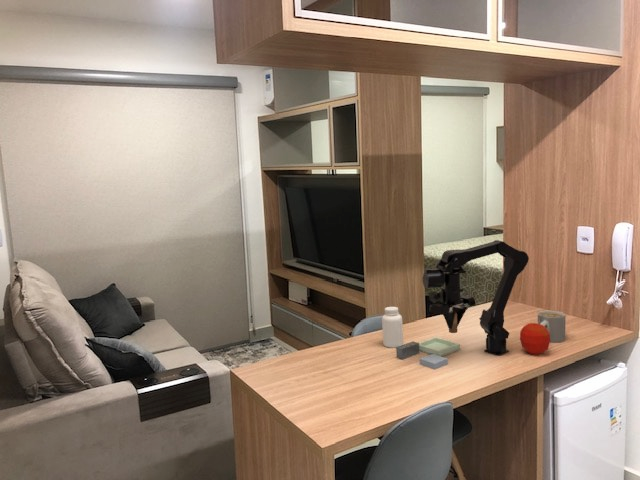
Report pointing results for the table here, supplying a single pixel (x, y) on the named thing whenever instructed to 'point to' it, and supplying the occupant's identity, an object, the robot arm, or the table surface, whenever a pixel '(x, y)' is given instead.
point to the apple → (535, 338)
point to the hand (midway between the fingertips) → (453, 327)
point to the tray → (438, 346)
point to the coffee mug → (553, 324)
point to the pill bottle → (392, 328)
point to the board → (433, 361)
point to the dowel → (454, 325)
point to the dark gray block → (407, 350)
